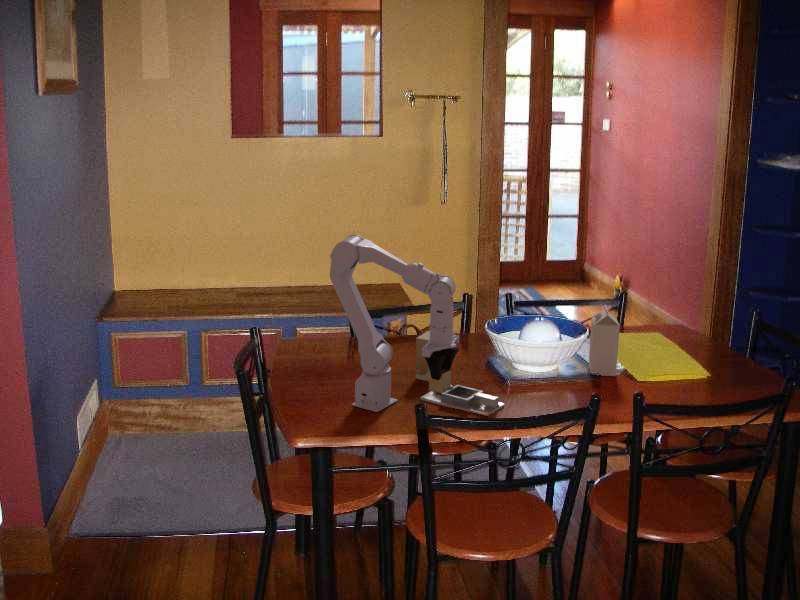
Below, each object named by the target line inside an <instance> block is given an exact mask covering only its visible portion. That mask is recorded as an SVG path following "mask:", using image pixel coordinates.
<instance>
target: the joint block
mask: <svg viewBox="0 0 800 600" xmlns="http://www.w3.org/2000/svg"><path fill="white" fill-rule="evenodd" d="M451 379H452V370H449V369H444V368H441V376H440V379H439V380H435V379H432V378H431V374H430V371H429V381H428V391H430V392H431V391H435V392H439V393H443V392H445V391H447V390H449V389H451V385H452V384H451V383H452V380H451Z"/></svg>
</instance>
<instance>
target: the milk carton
mask: <svg viewBox="0 0 800 600" xmlns="http://www.w3.org/2000/svg"><path fill="white" fill-rule="evenodd" d="M620 328H621V327H620V324H619V321H618V318H616V317H615V316H614V315H613V313H611V312H610V311H609V310H608V308H607V305H606V304H604V308H603V309H601V310H600V311H597V312H595V313H594V315H593V316H592V317H591V322H590V338H589V351H588V353H589V354H588V365H589V368H590V371H591V372H598V373H599V374H600V375H601V376H603V377H605V376H606V377H616V376H617V369H618V368H617V367H618V357H619V356H618V355H619V354H618V353H619V352H618V351H619V344H620V343H619V342H620V341H619V340H620ZM589 368H588V369H589ZM590 371H589V372H590ZM601 376H600V377H601Z"/></svg>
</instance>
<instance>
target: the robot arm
mask: <svg viewBox="0 0 800 600" xmlns="http://www.w3.org/2000/svg"><path fill="white" fill-rule="evenodd" d="M329 257H330V270H329V271H330V272H329V279H330V281H331V284H332V286H333V288H334V291H335V292H336V294H337V297H338V300H339V301H340V304H341V305H342V308H343V310H344V313H345V315H346V317H347V319H348V321H349V323H350V326H351V328H352V330H353V332H354V334H355V336H356V339H357V341H358V342H357V343H358V345H357V347H358V349H357V350H358V353H359V356H360V366H361V369H362V373H361V375H360V376H359V377H358V378H357V379H356V381H355V382H354V383H355V384H354V402H353V403H352V404H351V406H354V407H357V408H360V409H365V410H367V411H371V412H375V413H377V412H380V411H382V410H384V409H385V408H387V407H390V406H391V405H393V404H395V403H397V402H398V399H396V398H393V397H392V395H391V393H392V391H391V390H392V367H391V366H390V363H389V362H390V361H391V360H392V358H393V356H394V355H393V354H394V351H393V347H392V346H391V345H390V344H389V343H388V341H386V339H385V338H384V337H383V334H382V333H380V332H379V331H377V329H376V327H375V325H374V323H373V320H372V317H371V315H370V313H369V311H368V308H367V306H366V304H365V302H364V300H363V297H362V295H361V293H360V291H359V289H358V287H357V284H356V282H355V281H354V278H353V273H354V271H355V269H356V267H357V264H358V265H359V264H360V265H361V264H367V263H374V264H376V265H378V266H381V267H383V268H384V269H386V270H387V271H388V270H389V271H391V272H393V273H394V274H398V275H400V276H401V278H402V281H403V283H404V284H406V285H408V286H410V287H412V288H414V289H415V290H417V291H419V292H421V293H423V294H424V295H428V298H429V299H430V314H429V315H430V317H429V319H430V320H429V333H430V341H429V342H428V344H427V345H426V346H425V347H424V348H423V349H422V356H424V358H425V360H426V361H427V364H428V366H429V370H430V374H431V378H432V379H435V380H439V379H440V376H441V368H444V369H449V370H451V369H452V367H453V362H454V360H455V358H456V355H457V354H458V352H459V347H458V346H457V344H458V345H459V344H460V335H457V334H453V333H454V297H453V296H454V295H455V292H456V290H457V289H456V283H455V281H454V280H453V278H451V277H450V276H449V275H447V274H442V275H441V273H439V272H434V271H432V270H430V269H428V268H426V267H424V266H425V264H424V263H423V262H419V263H417V262H410V263H407V262H405V261H404V260H402V259H400V258H399V257H397V256H395V255H394V254H392V253H390V252H389V251H387V250H386V249H384V248H382V247H380V246H379V245H377V244H375V243H374V242H373V241H371V240H370V239H369V238H368V239H367V238H364V237H362V236H361V235H359V234H350V235H348V236H347V237H345V238H344V239H343V240H342V241H339V242H337V243H336V244H335V246H333V249H332V250H331V253H330V254H329ZM451 371H452V370H451Z"/></svg>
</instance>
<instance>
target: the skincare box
mask: <svg viewBox="0 0 800 600" xmlns="http://www.w3.org/2000/svg"><path fill="white" fill-rule="evenodd" d="M429 341H430V331H426V332H424V333H422V334H421V335H419V336H417V337H416V339H415V347H416V348H415V351H416V352H415V354H416V355H415V379H416V380H420V381H425V382H429V371H430V370H429V366H428V364H427V361H426V360H425V358H424V356H422V349H423V348H424V347H425V346H426V345H427V344H428V342H429Z"/></svg>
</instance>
